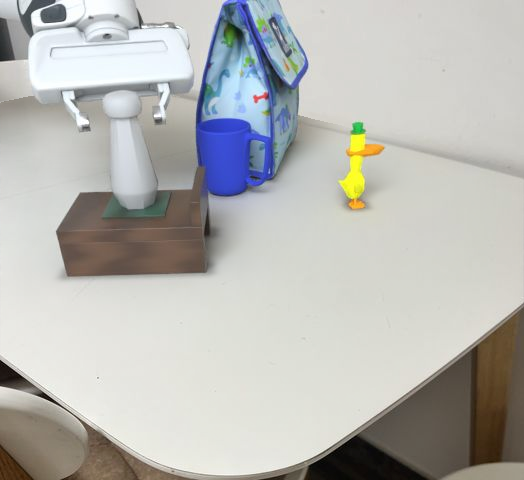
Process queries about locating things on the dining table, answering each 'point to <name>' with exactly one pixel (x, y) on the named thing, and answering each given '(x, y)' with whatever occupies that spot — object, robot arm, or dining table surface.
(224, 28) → the lunch bag
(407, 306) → the dining table surface
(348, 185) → the toy figure
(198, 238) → the toy bed
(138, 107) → the salt shaker
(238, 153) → the mug
